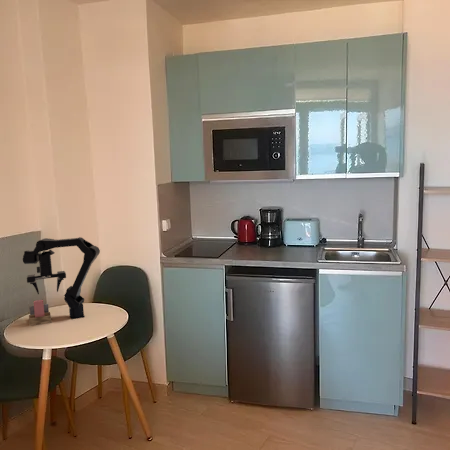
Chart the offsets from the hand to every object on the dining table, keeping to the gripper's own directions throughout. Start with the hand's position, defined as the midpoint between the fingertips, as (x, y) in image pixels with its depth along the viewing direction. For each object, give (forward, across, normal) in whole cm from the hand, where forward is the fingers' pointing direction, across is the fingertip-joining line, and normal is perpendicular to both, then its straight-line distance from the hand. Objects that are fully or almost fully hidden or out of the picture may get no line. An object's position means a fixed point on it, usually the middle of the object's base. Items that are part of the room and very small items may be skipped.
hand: (48, 292), depth 241 cm
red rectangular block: (+12, +5, +6) cm, 14 cm away
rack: (+13, +5, +4) cm, 14 cm away
